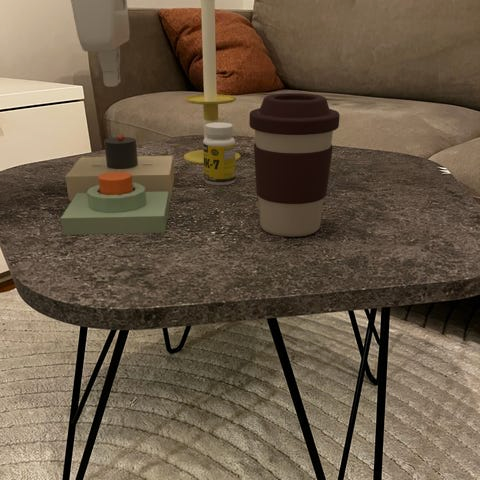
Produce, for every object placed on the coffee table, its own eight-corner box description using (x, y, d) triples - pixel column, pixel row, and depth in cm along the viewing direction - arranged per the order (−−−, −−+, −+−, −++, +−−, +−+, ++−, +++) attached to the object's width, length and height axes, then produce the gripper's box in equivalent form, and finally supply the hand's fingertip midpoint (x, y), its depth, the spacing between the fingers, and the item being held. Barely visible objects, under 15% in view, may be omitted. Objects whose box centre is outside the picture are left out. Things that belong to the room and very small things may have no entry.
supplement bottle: (197, 182, 90) (195, 124, 86) (220, 176, 93) (219, 120, 89) (219, 188, 87) (218, 129, 83) (242, 182, 90) (241, 124, 86)
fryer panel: (68, 201, 81) (65, 175, 79) (83, 180, 91) (80, 156, 89) (170, 199, 82) (169, 173, 80) (174, 178, 92) (173, 154, 90)
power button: (97, 197, 71) (95, 180, 70) (102, 187, 74) (100, 171, 73) (131, 196, 71) (129, 179, 70) (134, 187, 74) (133, 171, 73)
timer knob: (136, 168, 83) (133, 141, 81) (104, 169, 83) (101, 141, 81) (139, 161, 87) (137, 134, 85) (109, 161, 87) (106, 135, 85)
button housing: (63, 235, 69) (57, 202, 68) (78, 209, 78) (74, 179, 76) (165, 233, 70) (163, 200, 68) (169, 207, 79) (167, 177, 77)
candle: (239, 164, 99) (238, -21, 86) (180, 164, 99) (170, -21, 87) (241, 150, 108) (240, -20, 95) (187, 150, 108) (179, -19, 95)
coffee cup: (333, 216, 75) (342, 91, 68) (328, 245, 66) (339, 105, 59) (256, 212, 77) (257, 89, 69) (242, 239, 68) (242, 102, 61)
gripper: (87, -35, 79) (99, 76, 86) (55, -45, 61) (73, 96, 68) (134, -35, 79) (143, 75, 86) (116, -45, 61) (129, 96, 68)
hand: (112, 85), depth 77 cm, fingers closed
